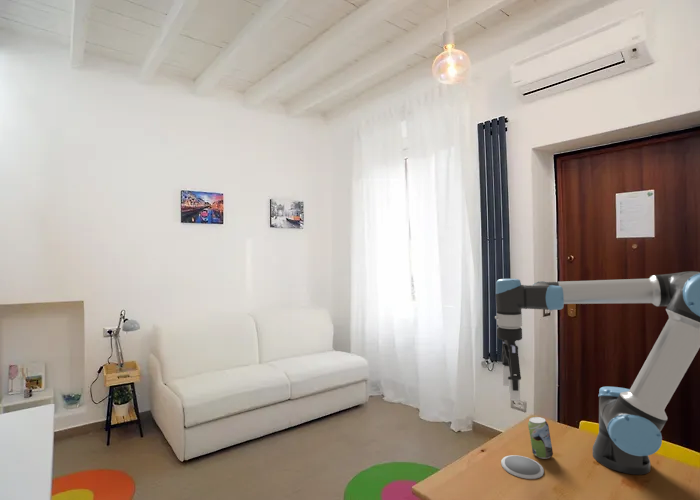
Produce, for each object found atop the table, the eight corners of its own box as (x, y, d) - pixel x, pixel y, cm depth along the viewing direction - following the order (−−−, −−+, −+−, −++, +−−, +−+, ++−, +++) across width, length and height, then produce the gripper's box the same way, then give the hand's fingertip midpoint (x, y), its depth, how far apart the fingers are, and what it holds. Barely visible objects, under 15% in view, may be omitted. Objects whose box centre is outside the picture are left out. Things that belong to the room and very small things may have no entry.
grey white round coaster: (539, 460, 124) (539, 457, 124) (547, 481, 112) (547, 478, 112) (499, 454, 127) (499, 451, 127) (503, 475, 115) (503, 472, 115)
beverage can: (555, 462, 123) (555, 424, 123) (530, 459, 124) (530, 422, 124) (549, 452, 129) (549, 416, 129) (525, 449, 130) (526, 414, 130)
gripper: (491, 319, 138) (493, 379, 138) (502, 334, 114) (505, 406, 113) (514, 320, 136) (516, 380, 136) (530, 334, 112) (532, 408, 112)
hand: (511, 392), depth 125 cm, fingers open, 13 cm apart
